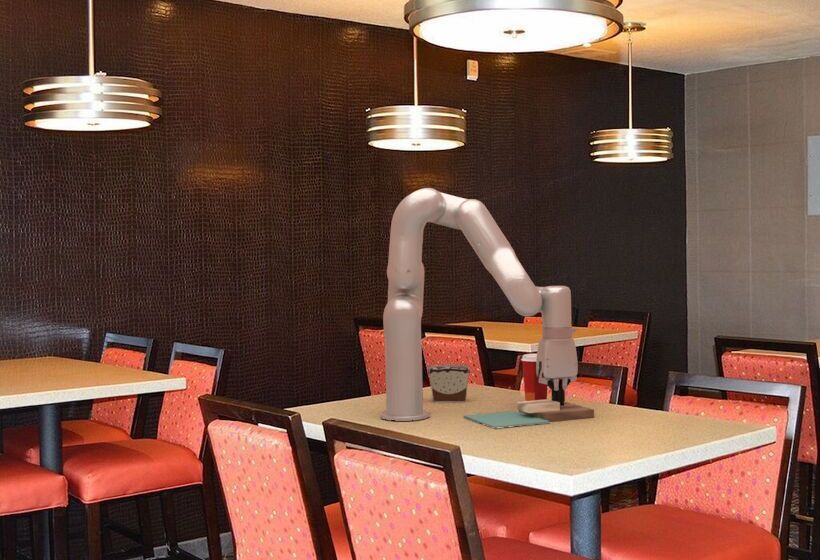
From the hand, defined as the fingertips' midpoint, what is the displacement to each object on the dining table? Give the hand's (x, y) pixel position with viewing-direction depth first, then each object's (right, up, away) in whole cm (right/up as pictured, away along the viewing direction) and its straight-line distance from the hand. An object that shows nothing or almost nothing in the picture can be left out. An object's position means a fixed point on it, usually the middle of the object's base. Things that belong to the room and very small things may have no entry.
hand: (558, 405), depth 267 cm
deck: (-1, -3, 0) cm, 3 cm away
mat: (-14, -3, -6) cm, 15 cm away
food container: (-26, -2, +29) cm, 40 cm away
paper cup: (-4, -2, +16) cm, 16 cm away
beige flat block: (-5, 0, -3) cm, 6 cm away
